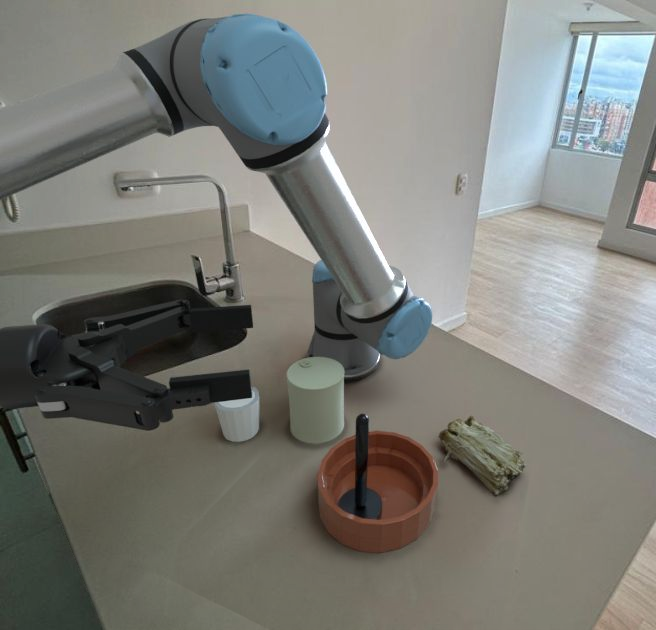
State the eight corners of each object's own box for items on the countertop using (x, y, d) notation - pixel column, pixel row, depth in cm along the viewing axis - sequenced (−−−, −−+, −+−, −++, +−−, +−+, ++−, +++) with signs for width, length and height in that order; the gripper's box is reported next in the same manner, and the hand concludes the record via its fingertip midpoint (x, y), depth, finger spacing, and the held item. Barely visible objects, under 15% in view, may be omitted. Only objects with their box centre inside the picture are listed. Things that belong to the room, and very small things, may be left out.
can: (321, 403, 83) (319, 347, 77) (355, 426, 78) (356, 369, 72) (278, 427, 76) (273, 368, 71) (313, 454, 71) (310, 394, 66)
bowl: (353, 447, 74) (353, 419, 71) (448, 479, 69) (452, 450, 66) (295, 528, 60) (293, 496, 57) (409, 575, 55) (412, 543, 52)
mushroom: (429, 452, 74) (432, 426, 72) (468, 428, 80) (472, 404, 77) (496, 509, 65) (502, 483, 62) (535, 478, 71) (542, 452, 68)
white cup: (271, 428, 76) (268, 395, 73) (236, 451, 71) (231, 416, 68) (245, 411, 79) (241, 378, 76) (210, 432, 74) (204, 398, 71)
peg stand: (362, 487, 66) (365, 393, 58) (390, 513, 62) (397, 416, 54) (329, 511, 62) (327, 413, 54) (357, 540, 58) (359, 440, 50)
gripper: (64, 336, 53) (255, 321, 59) (-63, 509, 32) (254, 458, 38) (44, 277, 49) (249, 269, 56) (-111, 428, 28) (245, 387, 35)
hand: (252, 345), depth 47 cm, fingers open, 13 cm apart
